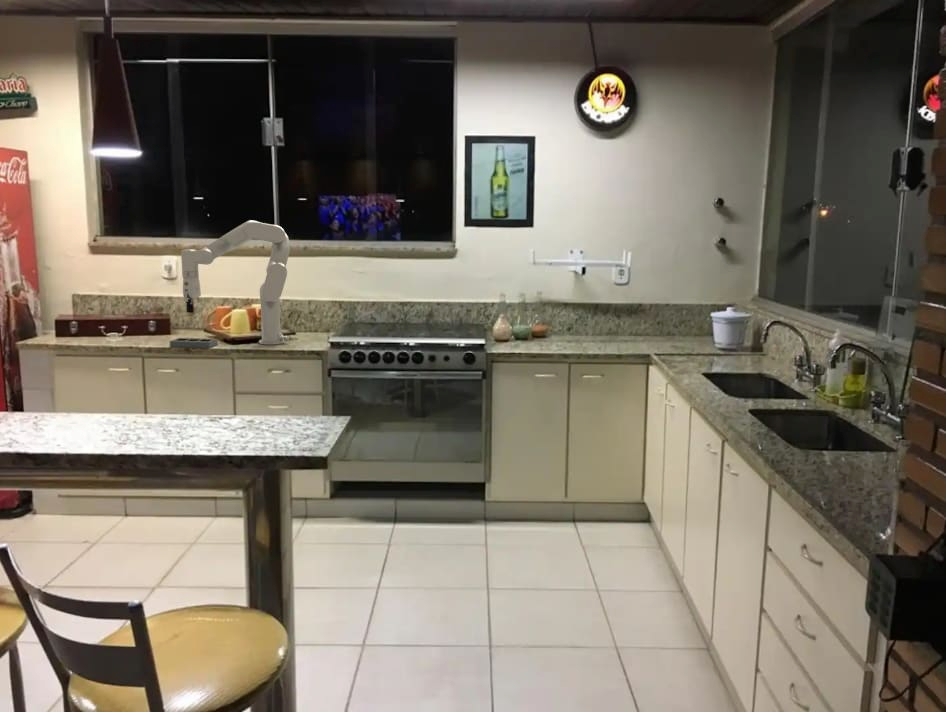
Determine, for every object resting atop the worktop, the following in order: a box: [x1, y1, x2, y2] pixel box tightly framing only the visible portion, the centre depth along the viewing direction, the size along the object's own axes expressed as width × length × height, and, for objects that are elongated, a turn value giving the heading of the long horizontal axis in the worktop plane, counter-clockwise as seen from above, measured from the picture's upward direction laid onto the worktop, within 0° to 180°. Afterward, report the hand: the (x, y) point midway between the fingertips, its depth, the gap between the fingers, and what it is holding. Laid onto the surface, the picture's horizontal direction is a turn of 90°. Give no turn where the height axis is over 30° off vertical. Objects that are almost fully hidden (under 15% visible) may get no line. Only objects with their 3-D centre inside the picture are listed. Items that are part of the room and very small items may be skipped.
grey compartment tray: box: [169, 337, 219, 349], centre depth 383 cm, size 20×10×3 cm, turn 85°
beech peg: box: [185, 297, 199, 318], centre depth 380 cm, size 4×4×10 cm
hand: (192, 311), depth 380 cm, fingers closed on beech peg, 4 cm apart
